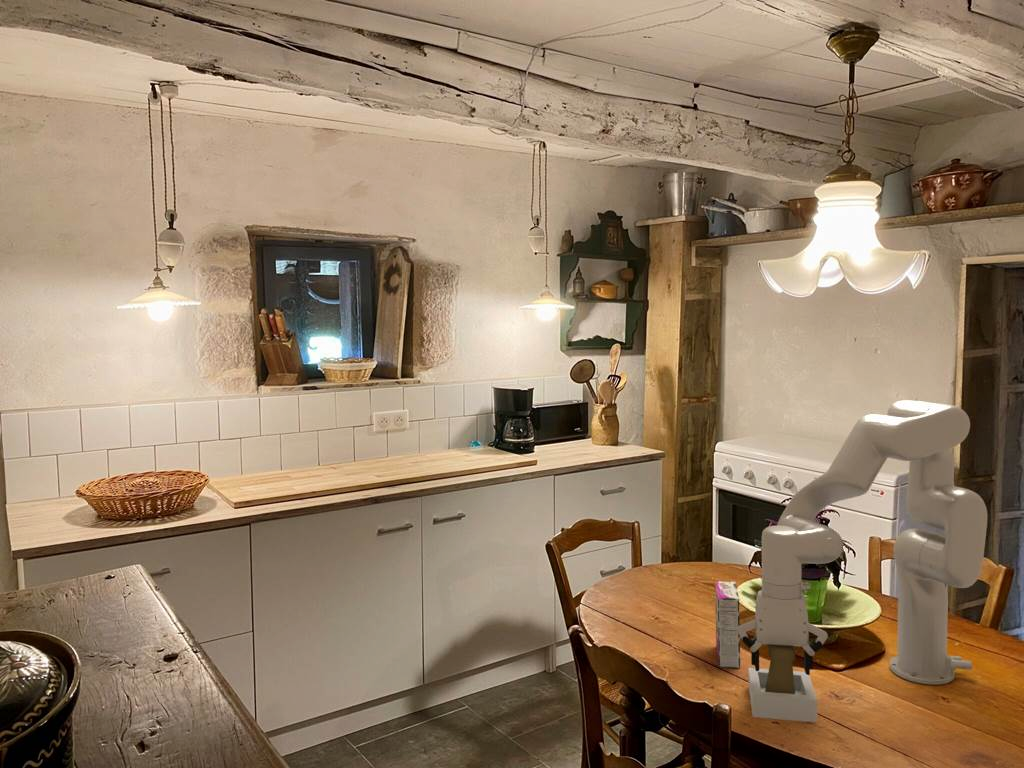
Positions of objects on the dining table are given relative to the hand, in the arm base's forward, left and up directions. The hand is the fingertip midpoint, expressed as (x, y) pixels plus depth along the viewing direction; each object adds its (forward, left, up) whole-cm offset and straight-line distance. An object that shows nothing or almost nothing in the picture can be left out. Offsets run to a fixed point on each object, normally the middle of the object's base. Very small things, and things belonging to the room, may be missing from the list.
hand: (781, 670), depth 156 cm
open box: (0, 0, -8) cm, 8 cm away
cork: (0, 0, -6) cm, 6 cm away
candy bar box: (+10, -20, -8) cm, 24 cm away
